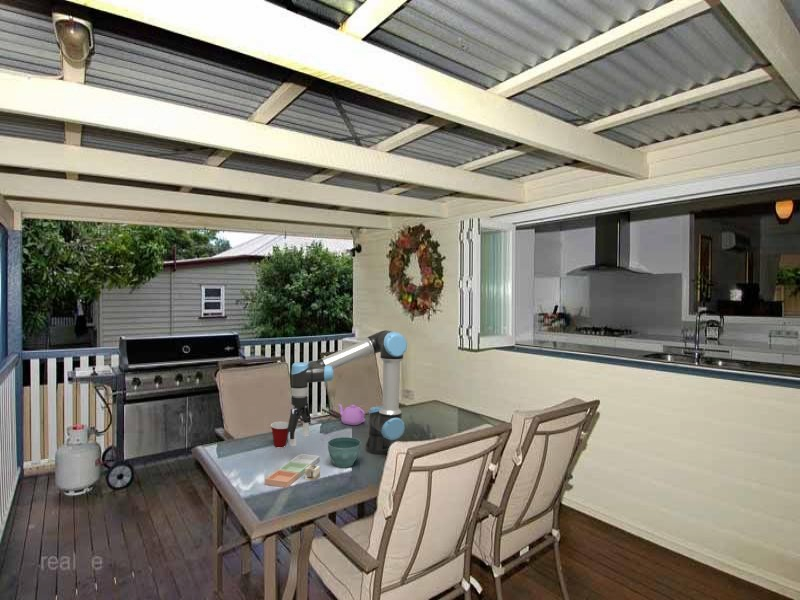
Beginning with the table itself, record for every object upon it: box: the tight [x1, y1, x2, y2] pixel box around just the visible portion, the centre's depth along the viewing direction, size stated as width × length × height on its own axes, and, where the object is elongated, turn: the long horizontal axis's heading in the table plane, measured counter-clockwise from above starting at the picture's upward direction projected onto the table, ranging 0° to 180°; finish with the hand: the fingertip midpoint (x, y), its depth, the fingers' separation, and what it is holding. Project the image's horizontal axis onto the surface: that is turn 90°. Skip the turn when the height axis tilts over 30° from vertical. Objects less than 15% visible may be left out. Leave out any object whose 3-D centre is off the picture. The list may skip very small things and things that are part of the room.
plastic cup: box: [270, 421, 289, 448], centre depth 245 cm, size 11×11×12 cm
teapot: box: [337, 403, 366, 426], centre depth 292 cm, size 20×13×12 cm, turn 68°
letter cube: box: [304, 464, 321, 482], centre depth 204 cm, size 5×5×5 cm
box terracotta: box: [264, 469, 300, 489], centre depth 200 cm, size 11×11×2 cm
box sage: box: [277, 460, 310, 479], centre depth 211 cm, size 11×11×2 cm
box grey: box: [290, 453, 321, 466], centre depth 221 cm, size 11×11×2 cm
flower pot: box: [327, 436, 362, 468], centre depth 222 cm, size 16×16×11 cm
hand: (299, 440), depth 213 cm, fingers open, 13 cm apart
